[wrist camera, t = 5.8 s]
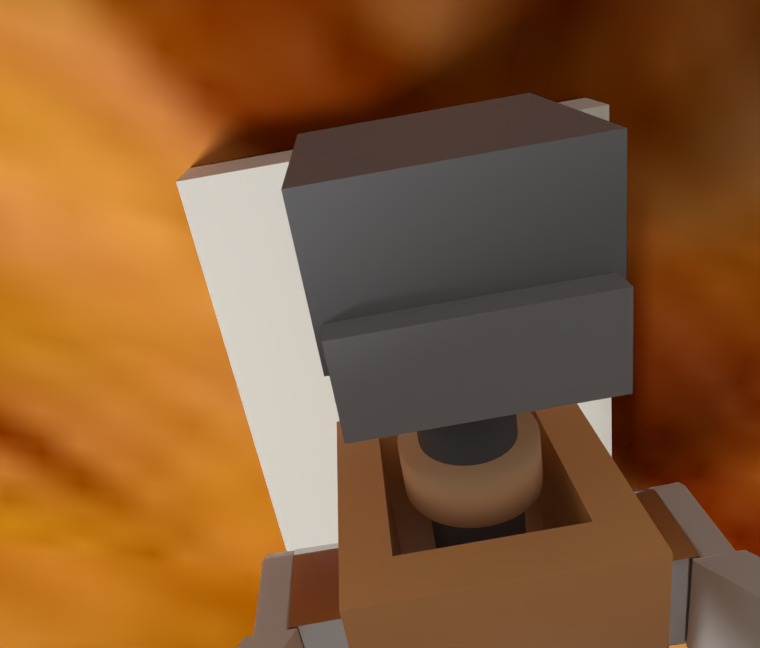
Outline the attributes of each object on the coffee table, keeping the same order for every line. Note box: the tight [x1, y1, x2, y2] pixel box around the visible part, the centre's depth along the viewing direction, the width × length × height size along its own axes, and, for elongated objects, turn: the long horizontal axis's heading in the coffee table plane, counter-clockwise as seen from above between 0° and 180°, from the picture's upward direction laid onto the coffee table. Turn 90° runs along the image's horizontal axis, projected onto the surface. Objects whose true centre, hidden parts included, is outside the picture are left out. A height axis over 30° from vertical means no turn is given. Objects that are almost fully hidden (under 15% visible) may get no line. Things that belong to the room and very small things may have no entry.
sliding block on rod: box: [176, 93, 634, 551], centre depth 14 cm, size 17×10×11 cm, turn 9°
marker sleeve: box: [337, 404, 673, 648], centre depth 10 cm, size 4×4×4 cm
